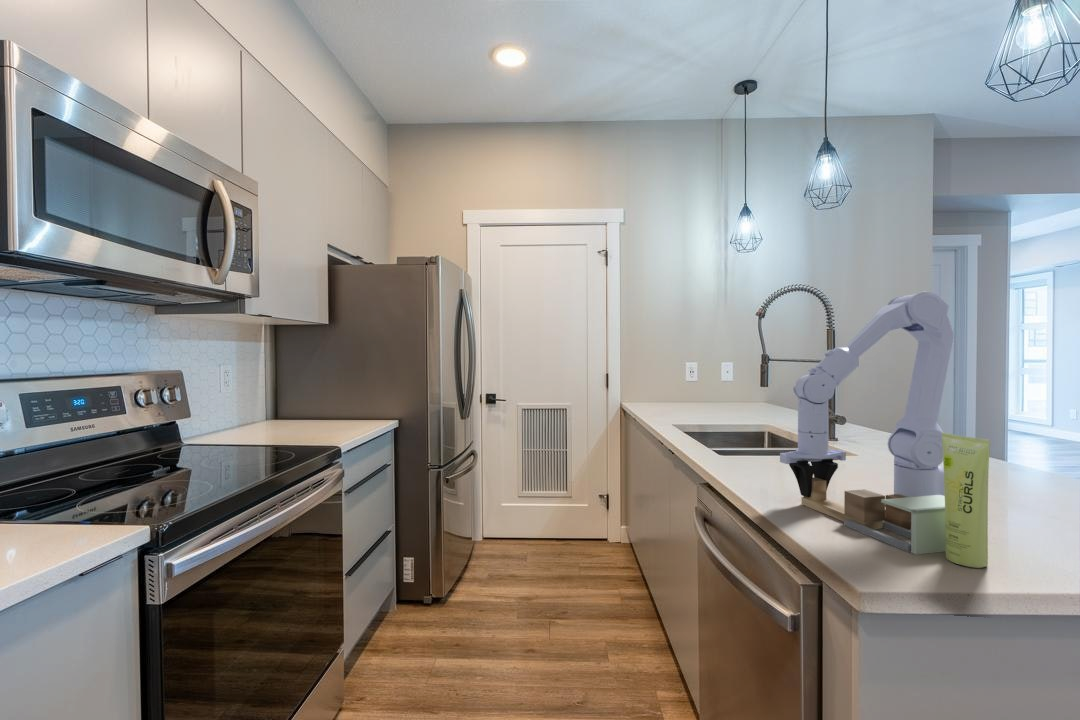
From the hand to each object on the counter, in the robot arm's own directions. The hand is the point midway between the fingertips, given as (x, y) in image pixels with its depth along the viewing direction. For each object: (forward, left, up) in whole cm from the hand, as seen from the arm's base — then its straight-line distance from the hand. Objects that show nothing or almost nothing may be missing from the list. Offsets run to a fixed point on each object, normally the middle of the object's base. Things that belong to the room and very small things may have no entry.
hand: (813, 495), depth 107 cm
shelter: (-3, +23, -2) cm, 23 cm away
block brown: (-6, +13, -2) cm, 14 cm away
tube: (-2, +30, -2) cm, 30 cm away
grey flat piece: (-3, +18, -2) cm, 19 cm away
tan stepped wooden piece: (0, +7, -2) cm, 7 cm away
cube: (0, +13, 0) cm, 13 cm away
